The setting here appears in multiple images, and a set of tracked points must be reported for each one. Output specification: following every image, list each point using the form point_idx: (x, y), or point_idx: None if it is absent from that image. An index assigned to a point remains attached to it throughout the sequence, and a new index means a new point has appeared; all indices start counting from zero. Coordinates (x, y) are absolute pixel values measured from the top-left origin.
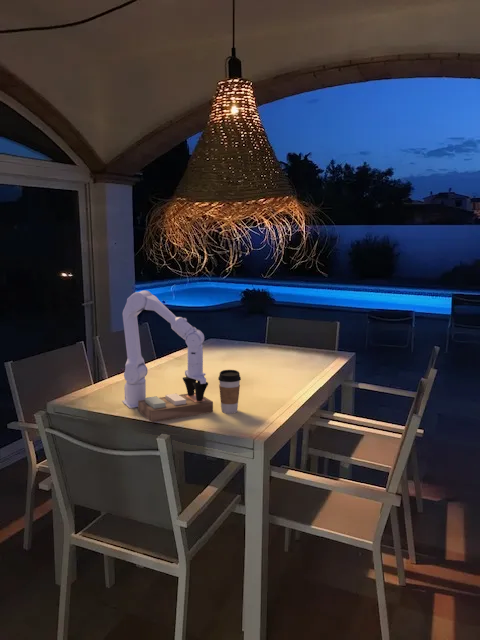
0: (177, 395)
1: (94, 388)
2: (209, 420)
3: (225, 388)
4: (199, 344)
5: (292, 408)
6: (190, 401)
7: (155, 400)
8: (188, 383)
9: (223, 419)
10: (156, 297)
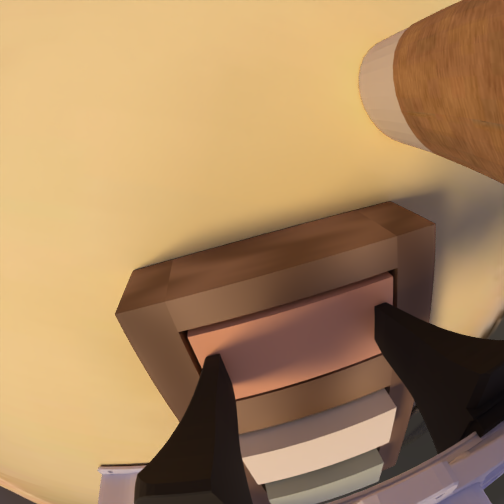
0: (293, 451)
1: (23, 494)
2: (475, 250)
3: None
4: None
5: None
6: (363, 372)
7: (333, 490)
8: (241, 475)
9: (489, 181)
10: None
